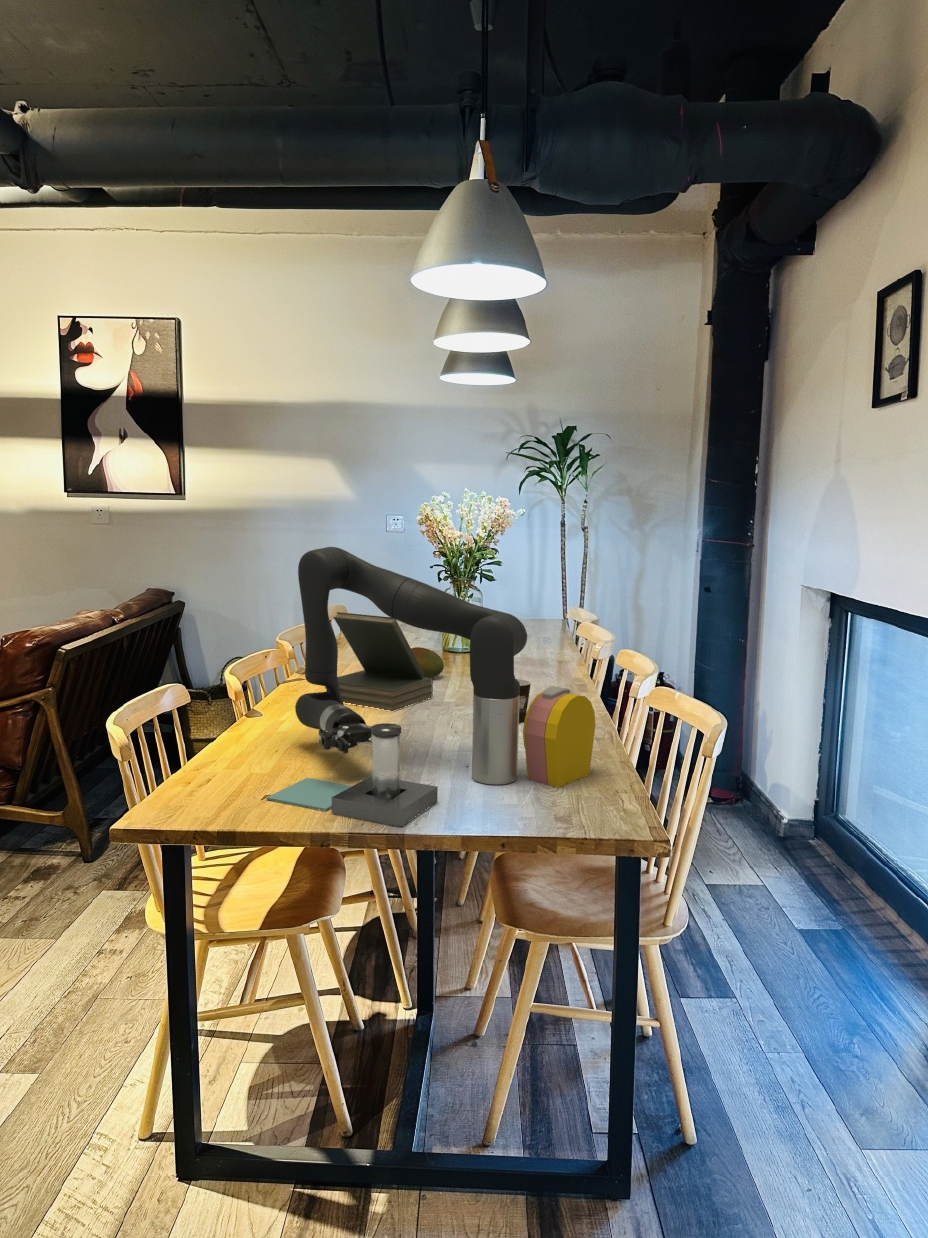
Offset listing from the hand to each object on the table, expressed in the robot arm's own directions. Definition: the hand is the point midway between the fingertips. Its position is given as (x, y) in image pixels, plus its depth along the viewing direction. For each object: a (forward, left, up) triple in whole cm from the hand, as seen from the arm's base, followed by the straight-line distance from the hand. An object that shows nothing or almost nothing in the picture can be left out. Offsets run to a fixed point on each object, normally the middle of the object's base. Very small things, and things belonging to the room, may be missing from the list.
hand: (368, 745), depth 163 cm
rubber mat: (+6, -8, -9) cm, 13 cm away
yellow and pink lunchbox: (-26, +29, -9) cm, 40 cm away
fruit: (-101, -40, -9) cm, 109 cm away
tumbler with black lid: (+6, +7, -9) cm, 13 cm away
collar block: (+6, +7, -9) cm, 13 cm away
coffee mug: (-64, +3, -9) cm, 65 cm away
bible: (-68, -37, -10) cm, 78 cm away
